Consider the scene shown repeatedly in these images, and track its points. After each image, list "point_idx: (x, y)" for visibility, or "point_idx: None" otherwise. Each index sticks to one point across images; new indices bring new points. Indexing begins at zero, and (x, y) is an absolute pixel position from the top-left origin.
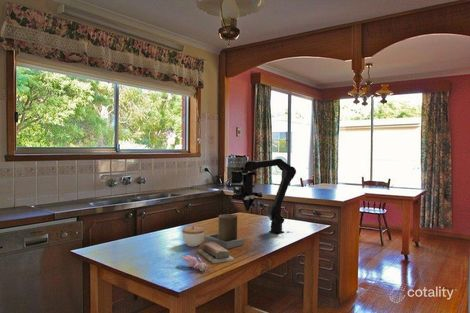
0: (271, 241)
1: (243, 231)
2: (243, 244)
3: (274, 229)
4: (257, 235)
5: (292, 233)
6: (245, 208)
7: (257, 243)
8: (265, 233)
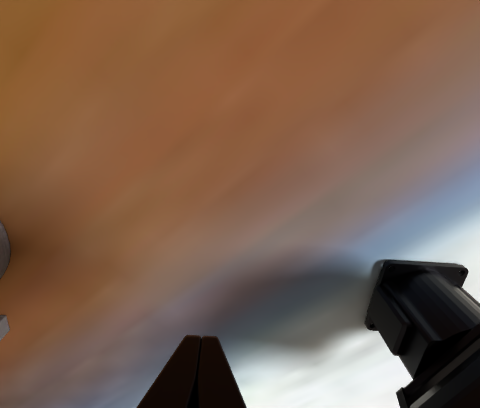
0: None
1: (274, 99)
2: (7, 332)
3: (379, 330)
4: (250, 259)
5: None
6: (157, 379)
7: (104, 357)
8: (338, 263)
